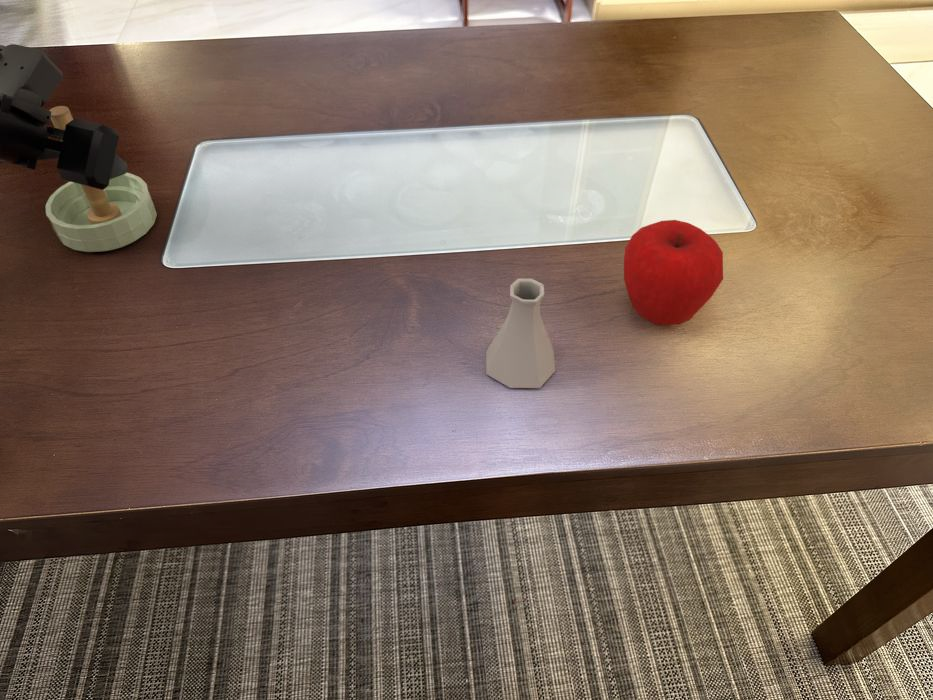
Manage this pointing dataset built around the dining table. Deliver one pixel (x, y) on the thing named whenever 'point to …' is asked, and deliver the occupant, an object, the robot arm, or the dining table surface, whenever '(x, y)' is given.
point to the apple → (671, 271)
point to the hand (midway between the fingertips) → (92, 160)
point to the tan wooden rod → (96, 197)
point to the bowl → (78, 233)
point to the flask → (522, 341)
